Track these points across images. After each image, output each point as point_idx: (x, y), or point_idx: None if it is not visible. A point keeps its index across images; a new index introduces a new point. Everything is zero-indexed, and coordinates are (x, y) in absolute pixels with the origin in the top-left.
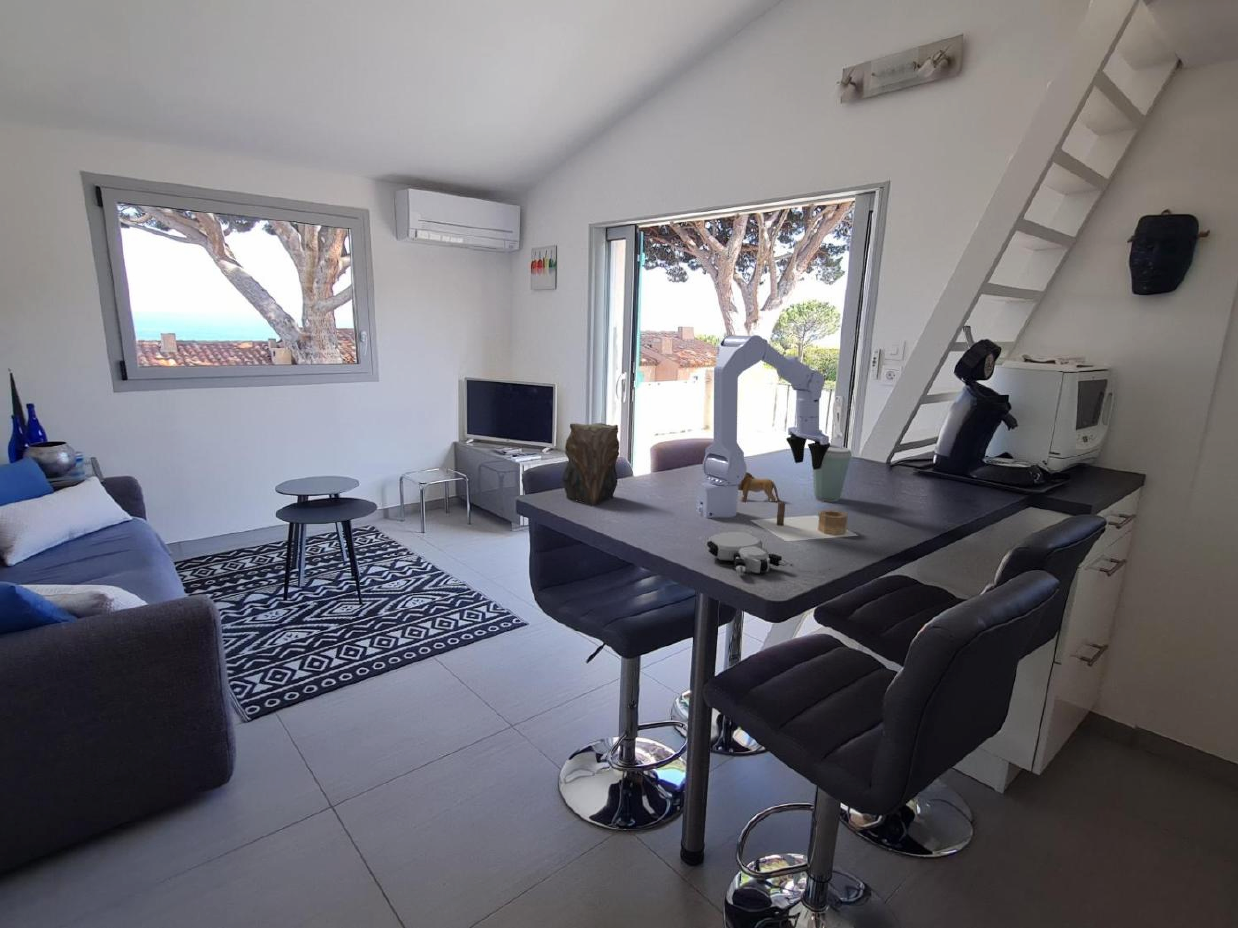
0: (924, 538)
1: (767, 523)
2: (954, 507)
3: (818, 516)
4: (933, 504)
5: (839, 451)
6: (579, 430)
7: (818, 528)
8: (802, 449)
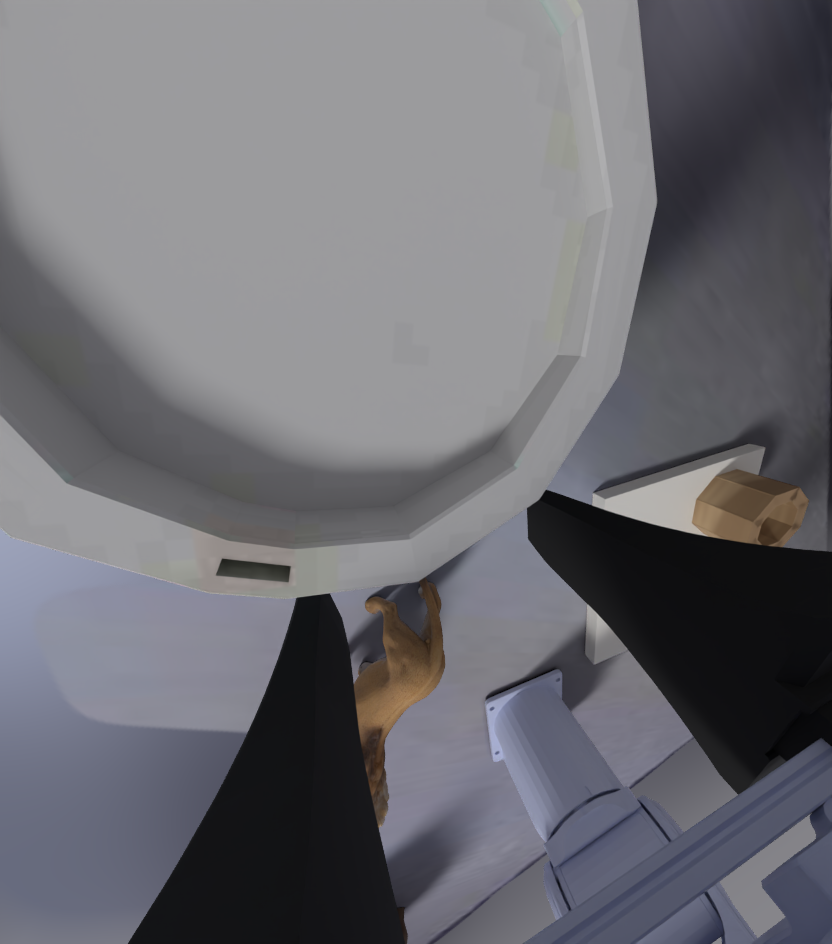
0: (823, 219)
1: None
2: None
3: (616, 496)
4: None
5: (643, 256)
6: None
7: (709, 535)
8: (324, 695)
